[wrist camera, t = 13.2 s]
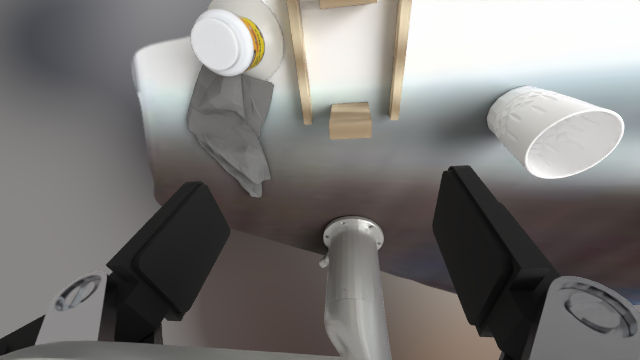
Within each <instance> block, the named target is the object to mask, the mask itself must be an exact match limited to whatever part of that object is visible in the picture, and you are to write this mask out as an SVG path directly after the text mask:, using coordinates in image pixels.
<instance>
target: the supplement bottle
mask: <svg viewBox="0 0 640 360" xmlns="http://www.w3.org/2000/svg"><path fill="white" fill-rule="evenodd" d="M191 45H192V49H193V51H194V53H195V55H196V56H197V58H198V59H199V60H200V61H201V62H202V63H203V64H204V65H205V66H206V67H207V68H209V69H210V70H211V71H213V72H215V73H217V74H219V75H222V76H236V75H239V74H241V73H243V72H246V71H247V70H250V69H252V68H254V67H256V66H257V65H258V64H259V63H260V62H261V61H262V59H263V56H264V53H265V41H264V37H263V35H262V33H261V31H260V29H259V28H258V27H257V25H256V24H255V23H254V22H252V21H251V20H249V19H248V18H245V17H243V16H240V15H237V14H234V13H232V12H229V11H227V10H223V9H211V10H208V11H206V12H204V13H202V14H201V15H200V16H199V17H198V19H197V20H196V22H195V24H194V26H193V28H192V31H191Z"/></svg>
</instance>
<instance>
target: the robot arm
mask: <svg viewBox="0 0 640 360" xmlns="http://www.w3.org/2000/svg"><path fill="white" fill-rule="evenodd" d="M433 232H434V235H435V238H436V240H437V243H438V245H439V248H440V251H441V253H442V256H443V258H444V261H445V264H446V266H447V269H448V271H449V274H450V277H451V279H452V282H453V284H454V287H455V289H456V292H457V295H458V297H459V300H460V302H461V305H462V308H463V310H464V313H465V315H466V318H467V320H468V322H469V324H471V325H475V326H476V329H477V331H478V334H479V336H480V337H494V338H495V340H496V343H497V345H498V347H499V349H500V350H501V351H502V352H501V355H500V357H499V360H640V312H639V311H638V310H637V309H636V308H635V307H634V306H633V305H632V304H631V303H630V302H629V301H628V300H626V299H625V298H623V297H622V296H620V295H619V294H617V293H616V292H615V291H613V290H611V289H609V288H607V287H605V286H603V285H601V284H599V283H597V282H594V281H591V280H588V279H585V278H580V277H574V276H565V277H561V276H560V275H559V273H558V272H557V271H556V270H555V268H554V267H553V266H552V265H551V263H550V262H549V261H548V260H547V258H546V257H545V256H544V255H543V254H542V252H541V251H540V250H539V249H538V247H537V246H536V245H535V244H534V242H533V241H532V240H531V239H530V237H529V236H528V235H527V234H526V232H525V231H524V230H523V229H522V227H521V226H520V225H519V224H518V222H517V221H516V220H515V219H514V218H513V216H512V215H511V214H510V213H509V211H508V210H507V209H506V208H505V206H504V205H502V204H501V203H500V202H498V201H497V200H496V198H495V197H494V196H493V194H492V193H491V192H490V191H489V189H488V188H487V187H486V186H485V184H484V183H483V182H482V181H481V179H480V178H479V177H478V176H477V174H476V173H475V172H474V171H473V169H472V168H471V167H470V166H468V165H466V166H451V167H449V169H448V171H444V172H443V174H442V179H441V184H440V189H439V194H438V199H437V204H436V209H435V214H434V219H433ZM229 235H230V228H229V226H228V224H227V222H226V220H225V218H224V217H223V215H222V213H221V211H220V209H219V207H218V205H217V203H216V201H215V199H214V198H213V196H212V194H211V192H210V190H209V188H208V186H207V185H204V183H203V182H200V181H196V182H186V183H185V184H183V185H182V186H181V188H180V189H179V190H178V191H177V192H176V193H175V194H174V195H173V196H172V197H171V198H170V199H169V200H168V201H167V202H166V203H165V204H164V205H163V206H162V207H161V208H160V209H159V210H158V211H157V212H156V213H155V214H154V216H153V217H152V218H151V219H150V220H149V221H148V222H147V223H146V224H145V225H144V226H143V227H142V228H141V229H140V230H139V231H138V232H137V233H136V234H135V235H134V236H133V237H132V238H131V239H130V240H129V242H128V243H127V244H126V245H125V246H124V247H123V248H122V249H121V250H120V251H119V252H118V253H117V254H116V255H115V256H114V257H113V258H112V259H111V260H110V261H109V262H108V263H107V264H106V266H107V267H108V268H109V269H111V270H112V271H113V272H112V273H111V274H110V275H107V274H106V273H105V272H104V271H94V272H90V273H87V274H85V275H83V276H81V277H79V278H77V279H75V280H74V281H72V282H71V283H69V284H68V285H67V286H65V287H64V288H63V289H62V290H61V291H60V292H59V293H58V294H57V295H56V296H55V297H54V299H53V300H52V302H51V303H50V305H49V307H48V310H47V313H46V314H45V315H43V316H42V317H40V318H38V319H36V320H34V321H32V322H31V323H29V324H27V325H25V326H23V327H22V328H20V329H18V330H16V331H14V332H12V333H11V334H9V335H7V336H5V337H3V338H1V339H0V360H392V358H391V353H390V348H389V342H388V334H387V328H386V319H385V312H384V303H383V295H382V286H381V277H380V269H379V261H378V252H377V250H379V249H380V247H381V246H382V244H383V240H384V238H383V232H382V230H381V228H380V227H379V226H378V225H377V224H376V223H375V222H373V221H372V220H370V219H367V218H364V217H359V216H346V217H341V218H338V219H336V220H333V221H332V222H331V223H329V224H328V225H327V226H326V228H325V230H324V235H323V240H324V243H325V245H326V246H327V247H328V253H327V254H326V256H324V257H323V258H322V259H321V260H320V261H319V265H320V266H321V267H322V268H324V267H326V266H327V265H328V279H327V291H326V305H325V327H326V331H327V334H328V336H329V338H330V340H331V341H332V343H333V345H334V346H335V348H336V349H337V351H338V352H339V354H340V355H341V357H331V356H318V355H305V354H291V353H277V352H262V351H247V350H233V349H219V348H206V347H191V346H176V345H163V338H162V324H161V322H162V320H163V318H166V319H167V320H168V321H181V320H182V318H183V316H184V314H185V313H186V312H187V311H188V310H189V309H190V308H191V306H192V304H193V303H194V301H195V299H196V297H197V295H198V293H199V291H200V290H201V288H202V286H203V284H204V282H205V280H206V278H207V276H208V275H209V273H210V271H211V269H212V267H213V265H214V263H215V262H216V260H217V258H218V256H219V254H220V252H221V250H222V248H223V247H224V245H225V243H226V241H227V239H228V237H229Z"/></svg>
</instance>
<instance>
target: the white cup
mask: <svg viewBox="0 0 640 360" xmlns="http://www.w3.org/2000/svg"><path fill="white" fill-rule="evenodd" d="M487 124H488V128H489V129H490V130H491V131H492V132H493V133H494V134H495V135H496V136H497V138H498V139H499V141H500V142H501V143H502V144H503V145H504V146H505V147H506V148H507V150H508V151H509V152H510V153H511V154H512V155H513V156H514V157H515V158H516V159H517V160H518V161H519V162H520V163H521V164H522V165H523V166H524V167H525V168H526V169H527V170H528V171H529V172H530V173H531V174H533V175H534V176H537V177H540V178H546V179H555V178H563V177H567V176H571V175H574V174H577V173H580V172H582V171H584V170H586V169H588V168H590V167H592V166H594V165H595V164H597V163H599V162H600V161H601V160H603V159H604V158H605V157H606V156H608V155H609V154H610V153H611V152H612V151H613V150H614V148H615V147H616V146H617V145H618V143H619V142H620V140H621V138H622V135H623V132H624V123H623V120H622V118H621V117H620V116H619V115H618V114H617V113H615V112H613V111H611V110H608V109H605V108H602V107H599V106H596V105H593V104H590V103H587V102H584V101H581V100H578V99H575V98H572V97H568V96H565V95H562V94H559V93H555V92H552V91H548V90H547V91H546V90H544V89H541V88H538V87H531V86H523V87H519V88H515V89H512V90H510V91H508V92H507V93H505V94H504V95H502V96H501V97H499V98H498V99H497V100H496V102H495V103H494V104H493V105H492V106H491V108H490V110H489V113H488V116H487Z"/></svg>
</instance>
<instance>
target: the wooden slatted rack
mask: <svg viewBox="0 0 640 360" xmlns="http://www.w3.org/2000/svg"><path fill="white" fill-rule="evenodd" d="M319 1H320V9H327V8H335V7H344V6H352V5H361V4H369V3H377V0H319ZM411 4H412V0H399V1H398V12H397V24H396V36H395V48H394V59H393V71H392V83H391V94H390V106H389V117H390V119H391V120H398V119H399V110H400V101H401V92H402V84H403V75H404V66H405V57H406V48H407V39H408V30H409V21H410V13H411ZM287 6H288V13H289V20H290V27H291V34H292V41H293V48H294V55H295V62H296V69H297V76H298V83H299V90H300V97H301V104H302V111H303V118H304V125H306V124H312V121H313V114H312V106H311V97H310V89H309V80H308V72H307V63H306V55H305V46H304V38H303V29H302V21H301V12H300V4H299V0H287ZM329 132H330V139H353V138H371V132H372V120H371V115H370V110H369V105H368V102H360V103H344V104H332V108H331V114H330V121H329Z"/></svg>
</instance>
